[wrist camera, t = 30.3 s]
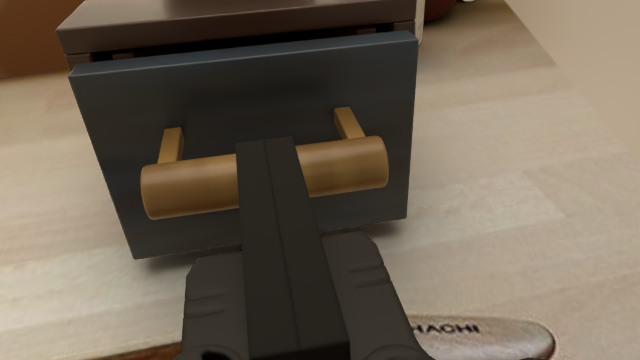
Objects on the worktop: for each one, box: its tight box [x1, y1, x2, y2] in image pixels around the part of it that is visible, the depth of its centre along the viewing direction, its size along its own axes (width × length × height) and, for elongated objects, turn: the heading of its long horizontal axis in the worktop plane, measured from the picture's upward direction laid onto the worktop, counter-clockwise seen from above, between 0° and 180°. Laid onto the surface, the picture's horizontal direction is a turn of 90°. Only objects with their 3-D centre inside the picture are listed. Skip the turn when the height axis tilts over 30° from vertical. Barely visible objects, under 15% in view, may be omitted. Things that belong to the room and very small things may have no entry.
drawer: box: [68, 24, 419, 259], centre depth 22 cm, size 18×12×8 cm, turn 10°
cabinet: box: [56, 0, 417, 73], centre depth 26 cm, size 15×13×10 cm
